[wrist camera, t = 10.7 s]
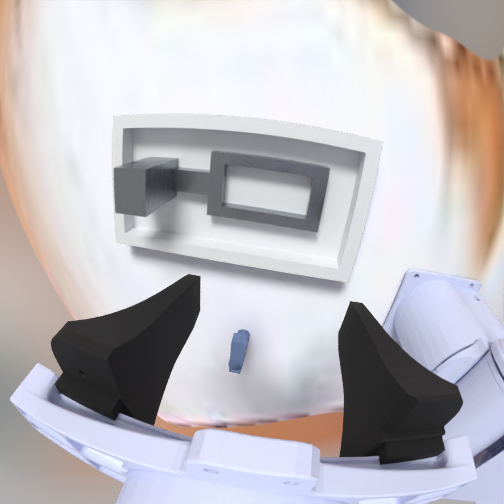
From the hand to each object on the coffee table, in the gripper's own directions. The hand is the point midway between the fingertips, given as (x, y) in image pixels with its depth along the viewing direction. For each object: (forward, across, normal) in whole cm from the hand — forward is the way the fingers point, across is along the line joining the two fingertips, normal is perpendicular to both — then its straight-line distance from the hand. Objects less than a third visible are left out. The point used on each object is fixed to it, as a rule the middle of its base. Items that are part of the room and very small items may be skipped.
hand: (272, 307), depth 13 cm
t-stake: (+9, +2, +11) cm, 15 cm away
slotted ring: (+9, +4, -3) cm, 10 cm away
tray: (+9, +4, -3) cm, 11 cm away
